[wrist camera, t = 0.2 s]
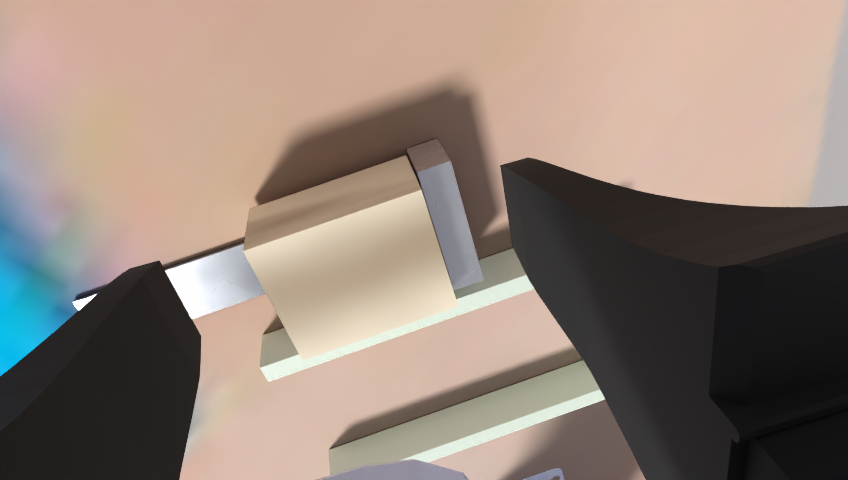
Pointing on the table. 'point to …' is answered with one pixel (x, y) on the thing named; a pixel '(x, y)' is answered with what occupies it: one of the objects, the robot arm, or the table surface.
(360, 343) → the sage cradle
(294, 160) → the table surface
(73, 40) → the table surface
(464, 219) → the slab rail
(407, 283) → the maple slab
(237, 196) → the table surface
